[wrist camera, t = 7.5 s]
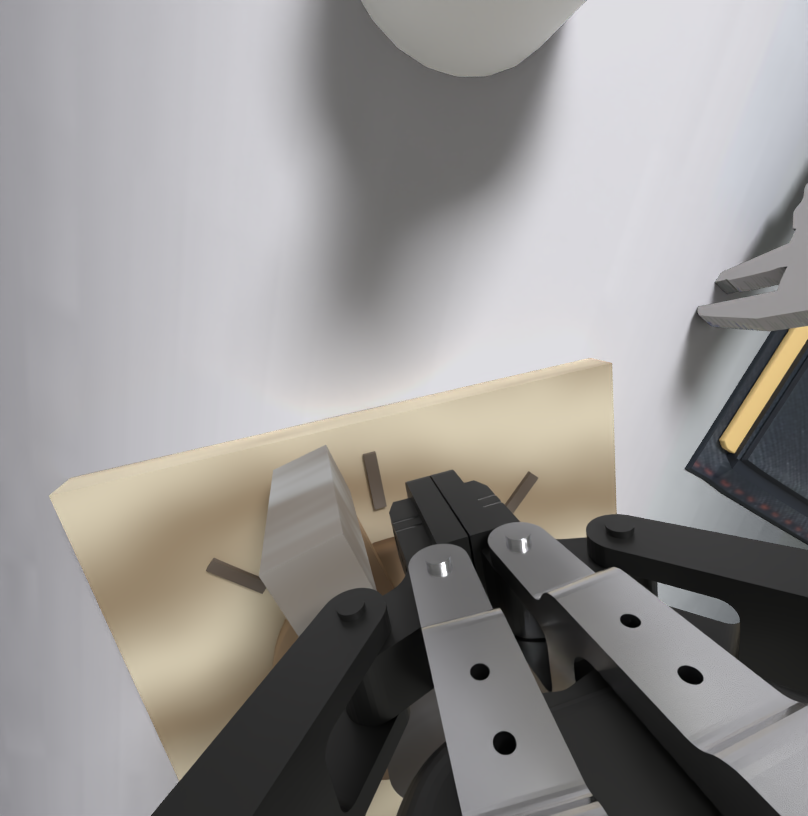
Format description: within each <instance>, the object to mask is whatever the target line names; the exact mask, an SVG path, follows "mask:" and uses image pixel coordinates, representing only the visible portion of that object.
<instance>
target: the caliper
mask: <svg viewBox="0 0 808 816" xmlns="http://www.w3.org/2000/svg"><path fill="white" fill-rule="evenodd" d="M793 229H794V230H795V232H794V234H793V236H792V238H791V240H790V242H789V243H788V244H785V245H783V246H781V247H778V248H776V249H774V250H772V251H769V252H767V253H765V254H762V255H760V256H758V257H755V258H753V259H751V260H749V261H746V262H744V263H742V264H739V265H737V266H735V267H732V268H730V269H728V270H726V271H723V272H721V273H720V275H719V276H718V278H717V279H716V281H715V283H716V284H717V285H718V286H719V287H720V288H721V289H722V290H723V291H724V292H725V293H726V294H728V293H733V292H737V291H740V292H744V291H750V290H755V289H760V288H764V287H769V286H774V285H779V287H778V290H777V291H773V292H768V293H763V294H758V295H754V296H749V297H744V298H739V299H734V300H729V301H724V302H719V303H714V304H708V305H702V306H699V307H698V311H697V312H698V314H699V316H701V317H702V318H703V319H704V320H705V321H706V322H707V323H708V324H709V325H711V326H713V327H721V328H732V329H746V330H759V331H776V330H783V329H790V328H797V327H804V326H808V183H807V184H806V186H805V189H804V197H803V199H802V201H801V203H800V204H799V205H798V206H797V207H796V209H795V211H794V212H793Z"/></svg>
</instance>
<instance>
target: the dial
mask: <svg viewBox="0 0 808 816" xmlns="http://www.w3.org/2000/svg"><path fill="white" fill-rule="evenodd" d="M259 577H260V579H261V580H262V582H263V583H264V585H265V586H266V588H267V589H268V591H269V592H270V594H271V595H272V597H273V598H274V600H275V602H276V603H277V605H278V606H279V608H280V609H281V611H282V612H283V614H284V615H285V617H286V619H285V622H284V624H283V626H282V628H281V630H280V633H279V636H278V639H277V643H276V646H275V651H274V658H273V667H272V669H273V668H274V666H275V665H276V664H277V663H278V662H279V660H280V659H281V658H282V657H283V656H284V654H285V653H286V652H287V651H288V649H289V648H290V647H291V646H292V645H293V643H294V642H295V641H296V640H297V639H298V637H299V636H300V635H301V634H302V633H303V631H304V630H305V629H306V628H307V627H308V625H309V624H310V623H311V622H312V620H313V619H314V618H315V617H316V616H317V614H318V613H319V612H320V611H321V610H322V608H323V607H324V606H325V605H326V604H327V603H328V602H329V601H330V600H331V599H332V598H334V597H335V596H337V595H338V594H340V593H342V592H345V591H347V590H351V589H355V588H370V589H374V590H376V591H378V592H379V593H380V594H381V595H382V596H383V595H385V594H386V593H388V592H390V591H391V590H393V589H394V588H395V587H397V586H398V585H399V584H400V583H401V582H402V580H403V579H404V577H405V574H404V571H403V568H402V565H401V562H400V559H399V555H398V551H397V546H396V542H395V537H390V538H387V539H384V540H381V541H378V542H374V543H371V541H370V539H369V537H368V536H367V534H366V532H365V530H364V528H363V526H362V524H361V522H360V520H359V518H358V517H357V515H356V511H355V507H354V504H353V500H352V496H351V492H350V490H349V488H348V486H347V484H346V482H345V480H344V478H343V476H342V474H341V472H340V470H339V468H338V467H337V465H336V463H335V461H334V459H333V457H332V455H331V453H330V451H329V449H328V447H327V445H324V446H322V447H320V448H318V449H316V450H314V451H312V452H310V453H308V454H305V455H303V456H301V457H299V458H297V459H295V460H293V461H291V462H289V463H287V464H285V465H283V466H281V467H279V468H276V469H274V470H273V475H272V482H271V490H270V497H269V504H268V512H267V519H266V527H265V534H264V542H263V549H262V557H261V564H260V571H259ZM410 707H411V713H410V718H409V721H408V724H407V726H406V728H405V730H404V732H403V735H402V737H401V739H400V741H399V743H398V745H397V748H396V750H395V752H394V754H393V756H392V758H391V761H390V763H389V765H388V767H387V769H386V772H385V774H384V776H383V778H382V780H390V782H391V785H392V787H393V789H394V790H395V791H396V793H397V794H399V795H400V796H401V797H402V798H403V797H404V795H405V793H406V791H407V789H408V787H409V785H410V784H411V782H412V780H413V778H414V777H415V775H416V774H417V772H418V771H419V769H420V768H421V767H422V765H423V764H424V763H425V762H426V760H427V759H428V758H429V757H430V756H431V755H432V753H433V752H434V751H435V750H437V749H438V748H439V747H440V746H441V745H442V744H443V743H444V742H446V739H445V734H444V729H443V725H442V720H441V716H440V711H439V706H438V702H437V697H436V693H435V688H433V689H432V690H431V691H429V692H428V693H427V694H425V695H424V696H423V697H421V698H420V699H419V700H417V701H416V702H414V703H413V704H412V705H410Z"/></svg>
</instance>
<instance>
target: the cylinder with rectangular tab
mask: <svg viewBox="0 0 808 816" xmlns="http://www.w3.org/2000/svg"><path fill="white" fill-rule="evenodd" d="M586 1H587V0H361V2H362V3H363V5H364V7H365V9H366V10H367V12H368V14H369V16H370V17H371V19H372V20H373V21H374V23H375V24H376V25H377V26H378V27H379V28H380V29H381V30H382V31H383V32H384V34H385V35H386V36H387V37H388V38H389V39H390V40H391V41H392V42H393V43H394V44H395V46H396V47H397V48H398V49H400V50H401V51H403V52H404V53H406V54H407V55H409V56H410V57H412V58H413V59H415V60H416V61H418V62H420V63H421V64H423V65H424V66H426V67H427V68H430V69H434V70H437V71H440V72H443V73H446V74H450V75H453V76H456V77H484V76H490V75H493V74H496V73H498V72H501V71H504V70H507V69H510V68H512V67H515V66H516V65H518V64H519V63H520V62H522V61H523V60H524V59H526V58H527V57H528V56H530V55H531V54H532V53H534V52H535V51H536V50H537V49H539V48H540V47H541V46H542V45H543V44H544V43H545V42H546V41H547V40H548V39H549V38H550V37H551V36H552V35H553V34H554V33H555V32H556V31H557V30H558V29H559V28H560V27H561V26H562V25H563V24H564V23H565V22H566V21H567V20H568V19H569V18H570V17H571V16H572V15H573V14H574V13H575V12H576V11H577V10H578V9H579V8H580V7H581V6H582V5H583V4H584V3H585V2H586Z"/></svg>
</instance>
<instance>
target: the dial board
mask: <svg viewBox="0 0 808 816" xmlns="http://www.w3.org/2000/svg"><path fill="white" fill-rule="evenodd" d="M324 445H327V447H328V449H329V451H330V453H331V455H332V457H333V459H334V461H335V463H336V465H337V467H338V468H339V470H340V472H341V474H342V476H343V478H344V480H345V482H346V484H347V486H348V488H349V490H350V492H351V496H352V500H353V504H354V507H355V511H356V515H357V517H358V518H359V520H360V522H361V524H362V526H363V528H364V530H365V532H366V534H367V536H368V537H369V539H370V541H371V543H374V542H378V541H381V540H384V539H387V538H390V537H394V533H393V528H392V524H391V520H390V515H389V511H390V509H391V506H392V503H393V502H396V501H399V500H403V499H407V498H408V497H407V492H406V486H405V482H407V481H411V480H415V479H418V478H422V477H426V476H430V475H433V474H437V473H441V472H444V471H448V470H452V469H453V470H454V471H455V472H456V473H457V475H458V476H459V477H460V478H461V480H462V481H463V482H464V483H465V482H469V481H473V480H475V481H477V482H480V483H482V484H484V485H487V486H488V487H489V488H490V489H491V490H492V491H493V493H494V494H495V496H497V497H498V498H499V499H500V500H501V503H502V502H503V503H504V505H505V506H506V507H507V508H508V509H509V510H510V511H511V512H512V513H513V514H514V515H515V516H516V518H517V519H518V520H519V521H520V522H526V523H531V524H535V525H538V526H540V527H541V528H543V529H544V530H545V531H547V532H548V533H549V534H550V535H551V536H553V537H554V538H555V539H570V538H584V537H586V527H587V524H588V523H589V522H590V521H591V520H593V519H595V518H597V517H600V516H603V515H610V514H617V512H616V479H615V446H614V413H613V380H612V363H610V362H606V361H601V360H597V359H592V358H588V359H584V360H579V361H575V362H571V363H566V364H562V365H558V366H553V367H549V368H545V369H540V370H536V371H532V372H527V373H523V374H519V375H514V376H510V377H506V378H501V379H497V380H493V381H488V382H484V383H480V384H475V385H471V386H467V387H462V388H458V389H454V390H449V391H445V392H441V393H437V394H432V395H428V396H424V397H419V398H415V399H411V400H406V401H402V402H398V403H393V404H389V405H385V406H380V407H376V408H372V409H367V410H363V411H359V412H354V413H350V414H346V415H341V416H337V417H333V418H328V419H324V420H320V421H315V422H311V423H307V424H302V425H298V426H294V427H290V428H285V429H281V430H277V431H272V432H268V433H264V434H259V435H255V436H251V437H246V438H242V439H238V440H233V441H229V442H225V443H220V444H216V445H212V446H207V447H203V448H199V449H194V450H190V451H186V452H181V453H177V454H173V455H168V456H164V457H160V458H155V459H151V460H147V461H142V462H138V463H134V464H130V465H125V466H121V467H117V468H112V469H108V470H104V471H99V472H95V473H91V474H86V475H82V476H78V477H73V478H70V479H69V480H68V481H66V482H65V483H64V484H63V485H61V486H60V487H59V488H58V489H57V490H55V491H54V492H53V493H52V494H50V495H49V497H50V499H51V501H52V504H53V506H54V508H55V510H56V512H57V514H58V517H59V519H60V521H61V523H62V525H63V528H64V530H65V532H66V534H67V536H68V539H69V541H70V543H71V545H72V547H73V549H74V552H75V554H76V556H77V558H78V560H79V563H80V565H81V567H82V569H83V571H84V574H85V576H86V578H87V580H88V582H89V585H90V587H91V589H92V591H93V593H94V595H95V598H96V600H97V602H98V604H99V606H100V609H101V611H102V613H103V615H104V617H105V620H106V622H107V624H108V626H109V628H110V631H111V633H112V635H113V637H114V639H115V641H116V644H117V646H118V648H119V650H120V652H121V655H122V657H123V659H124V661H125V663H126V666H127V668H128V670H129V672H130V674H131V677H132V679H133V681H134V683H135V685H136V687H137V690H138V692H139V694H140V696H141V698H142V701H143V703H144V705H145V707H146V709H147V712H148V714H149V716H150V718H151V720H152V722H153V725H154V727H155V729H156V731H157V733H158V736H159V738H160V740H161V742H162V744H163V747H164V749H165V751H166V753H167V755H168V758H169V760H170V762H171V764H172V766H173V768H174V771H175V773H176V775H177V777H178V779H179V781H180V780H181V779H182V778H183V776H184V775H185V774H186V773H187V771H188V770H189V769H190V768H191V767H192V765H193V764H194V763H195V762H196V761H197V759H198V758H199V757H200V756H201V755H202V753H203V752H204V751H205V750H206V749H207V747H208V746H209V745H210V744H211V743H212V741H213V740H214V739H215V738H216V736H217V735H218V734H219V733H220V732H221V730H222V729H223V728H224V727H225V726H226V724H227V723H228V722H229V721H230V720H231V718H232V717H233V716H234V715H235V714H236V712H237V711H238V710H239V709H240V707H241V706H242V705H243V704H244V703H245V701H246V700H247V699H248V698H249V697H250V695H251V694H252V693H253V692H254V691H255V689H256V688H257V687H258V686H259V685H260V683H261V682H262V681H263V680H264V678H265V677H266V676H267V675H268V674H269V672H270V671H271V670H272V667H273V658H274V651H275V646H276V643H277V639H278V636H279V633H280V630H281V628H282V626H283V624H284V622H285V619H286V617H285V615H284V614H283V612H282V611H281V609H280V608H279V606H278V605H277V603H276V602H275V600H274V598H273V597H272V595H271V594H270V592H269V591H268V589H267V588H266V586H265V585H264V583H263V582H262V580H261V579H260V577H259V571H260V564H261V557H262V549H263V542H264V534H265V527H266V519H267V512H268V504H269V497H270V490H271V482H272V475H273V470H274V469H276V468H279V467H281V466H283V465H285V464H287V463H289V462H291V461H293V460H295V459H297V458H299V457H301V456H303V455H305V454H308V453H310V452H312V451H314V450H316V449H318V448H320V447H322V446H324ZM402 800H403V798H402V797H401V796H400V795H399V794H397V793H396V791H395V790H394V789H393V787H392V785H391V782H390V780H381V782H380V785H379V787H378V789H377V791H376V793H375V795H374V798H373V800H372V802H371V804H370V806H369V808H368V811H367V813H366V815H365V816H396V815H397V812H398V810H399V807H400V805H401V802H402Z"/></svg>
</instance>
